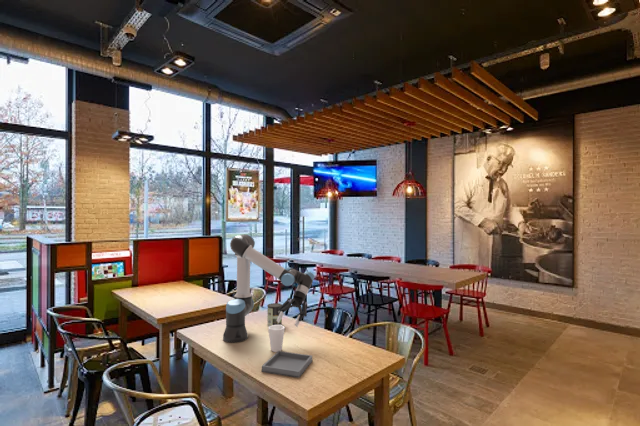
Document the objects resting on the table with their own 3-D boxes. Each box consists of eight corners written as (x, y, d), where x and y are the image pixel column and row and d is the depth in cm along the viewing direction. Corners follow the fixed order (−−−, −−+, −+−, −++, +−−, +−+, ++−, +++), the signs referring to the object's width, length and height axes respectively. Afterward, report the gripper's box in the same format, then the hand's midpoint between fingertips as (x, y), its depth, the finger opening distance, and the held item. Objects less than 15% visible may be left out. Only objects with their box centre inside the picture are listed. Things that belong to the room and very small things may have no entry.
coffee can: (283, 323, 251) (283, 303, 251) (279, 327, 241) (279, 307, 241) (270, 322, 253) (270, 302, 253) (265, 326, 243) (265, 306, 243)
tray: (261, 371, 174) (261, 365, 174) (278, 356, 194) (278, 350, 194) (298, 378, 168) (298, 371, 168) (312, 361, 187) (312, 355, 187)
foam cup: (270, 353, 197) (270, 331, 196) (266, 347, 205) (266, 325, 205) (286, 351, 200) (286, 328, 200) (281, 345, 209) (281, 323, 209)
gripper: (319, 299, 218) (306, 330, 205) (287, 294, 231) (273, 323, 218) (315, 292, 213) (301, 324, 201) (282, 288, 226) (267, 317, 214)
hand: (286, 323), depth 209 cm, fingers open, 13 cm apart
